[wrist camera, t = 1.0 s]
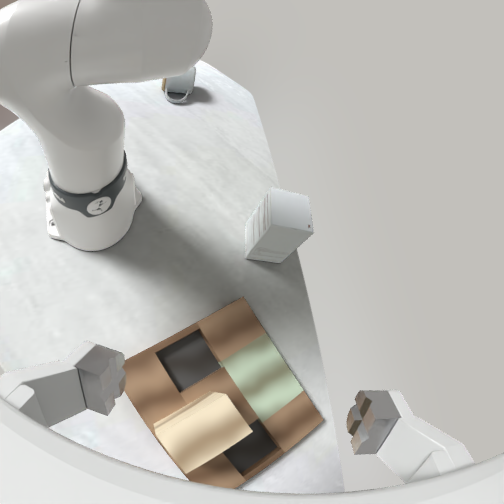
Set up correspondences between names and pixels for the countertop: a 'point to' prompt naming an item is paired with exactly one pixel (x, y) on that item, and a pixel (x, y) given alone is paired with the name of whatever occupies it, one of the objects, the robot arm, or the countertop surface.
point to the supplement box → (278, 226)
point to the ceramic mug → (179, 85)
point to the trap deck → (225, 389)
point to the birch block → (201, 430)
